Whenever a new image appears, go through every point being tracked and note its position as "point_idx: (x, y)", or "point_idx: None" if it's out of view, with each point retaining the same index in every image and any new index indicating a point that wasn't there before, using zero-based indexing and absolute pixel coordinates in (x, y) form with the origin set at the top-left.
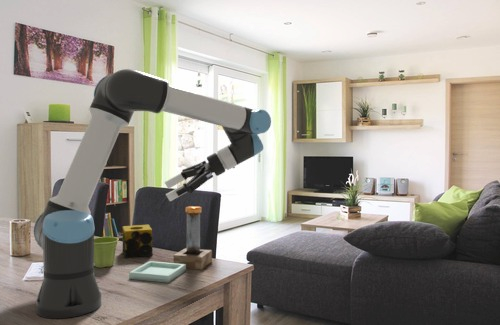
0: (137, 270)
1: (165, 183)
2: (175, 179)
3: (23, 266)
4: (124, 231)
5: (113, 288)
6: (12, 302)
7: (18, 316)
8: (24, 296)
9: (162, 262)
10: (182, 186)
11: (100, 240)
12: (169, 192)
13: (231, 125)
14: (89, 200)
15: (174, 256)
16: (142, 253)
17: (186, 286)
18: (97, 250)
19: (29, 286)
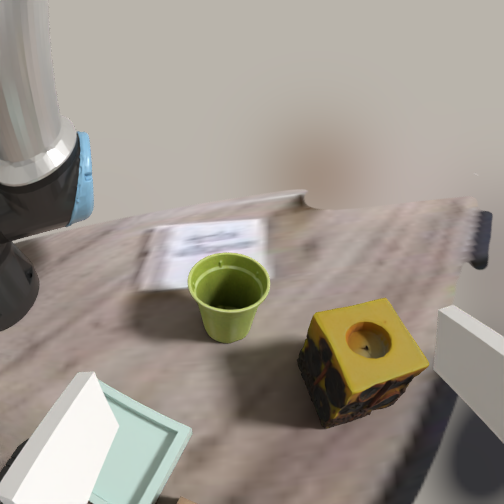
0: (109, 396)
1: (440, 321)
2: (497, 381)
3: (235, 213)
4: (317, 313)
5: (47, 352)
6: (56, 238)
7: None
8: (72, 243)
9: (169, 464)
10: (4, 486)
11: (259, 275)
12: (75, 391)
13: None
14: (2, 152)
15: (179, 499)
16: (315, 399)
17: None
18: (199, 285)
19: (115, 239)
